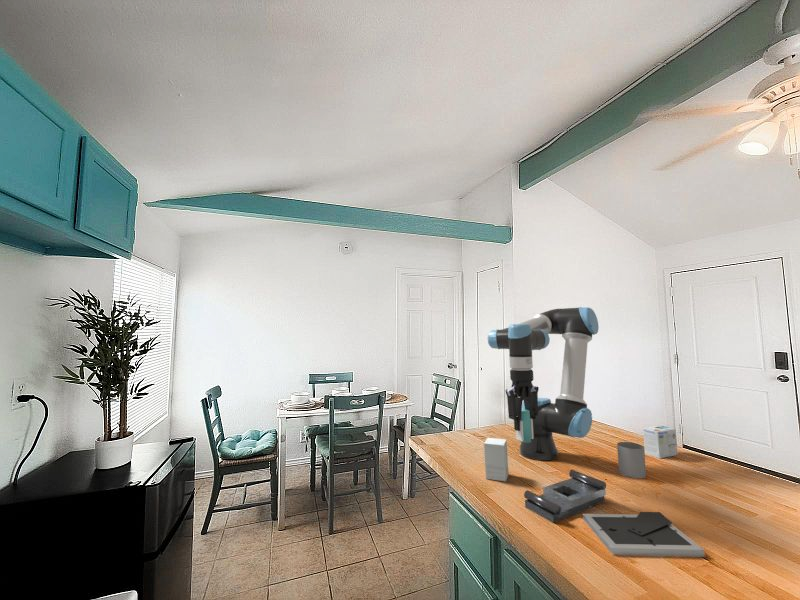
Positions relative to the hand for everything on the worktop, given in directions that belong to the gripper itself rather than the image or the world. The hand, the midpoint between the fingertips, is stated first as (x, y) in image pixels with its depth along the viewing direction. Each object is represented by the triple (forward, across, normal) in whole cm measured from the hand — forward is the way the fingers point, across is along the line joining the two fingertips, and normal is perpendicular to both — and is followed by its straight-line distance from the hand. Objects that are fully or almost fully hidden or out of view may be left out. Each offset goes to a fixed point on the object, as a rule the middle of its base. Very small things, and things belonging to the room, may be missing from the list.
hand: (524, 438), depth 119 cm
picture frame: (+17, +4, -33) cm, 37 cm away
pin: (+1, 0, 0) cm, 1 cm away
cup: (+17, +43, -10) cm, 47 cm away
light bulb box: (+17, +73, -5) cm, 75 cm away
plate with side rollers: (+17, +2, -13) cm, 21 cm away
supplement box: (+17, -1, +13) cm, 21 cm away
